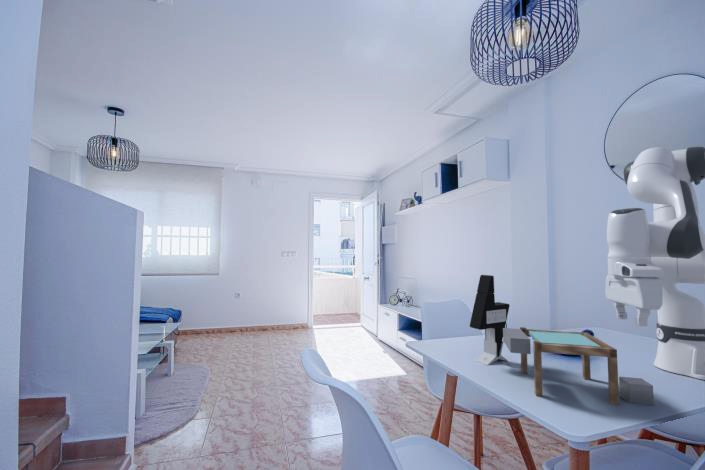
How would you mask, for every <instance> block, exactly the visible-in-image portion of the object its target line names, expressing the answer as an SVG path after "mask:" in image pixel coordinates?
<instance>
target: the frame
mask: <svg viewBox="0 0 705 470" xmlns="http://www.w3.org/2000/svg"><path fill="white" fill-rule="evenodd" d="M519 329H521V330H522V331H523V332H524V333H525V335H526V336H527V337H528V338H532V337H531V336H530V335H529V331H540V332H557V333H573V334H581V335H583V336H585V337H586V338H588V339H590V340H591V341H593V342H594V343H596V344H598V345H599V346H601V347H590V346H576V345H561V344H547V343H541V342H540V341H535V340H532V341H533V342H532V343H533V344H532V345H533V371H534V372H533V373H534V375H533V377H534V394H535V396H536V397H544V395H543V394H544V393H543V391H544V390H543V369H542V368H543V365H542V361H543V360H542V353H546V354H547V353H548V354H561V355H563V354H564V355H574V356H576V355H577V356H581V361H582V362H581V363H582V378H583V379H584V380H588V381H591V380H592V379H591V361H590V360H591V357H592V356H593V357H599V358H601V357H602V358H607V377H608V378H607V379H608V383H607V384H608V401H609V403H610V404H612V405H617V406H619V405H620V387H619V371H618V370H619V369H618V365H619V364H618V349H616V348H615V347H612V346H611V345H609V344H607V343H606V342H604V341H602V340H601V339H598V338H597V337H595V336H594V335H591V334H590V333H588V332H582V331H561V330H546V329H543V330H542V329H531V328H530V329H529V328H526V327H525V326H524V327H523V326H522V327H521V326H520V327H519ZM520 366H521V367H520V368H521V369H520V372H521V374H524V375H525V374H526V375H527V374H529V373H528V354H522V353H520Z"/></svg>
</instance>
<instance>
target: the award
mask: <svg viewBox="0 0 705 470" xmlns="http://www.w3.org/2000/svg"><path fill="white" fill-rule="evenodd" d="M478 280H479V281H478V285H477V291H476V295H475V299H474V304H473V307H472V314H471V317H470V322H469V327H470V328H473V329H475V330H480V331H481V330H484V335H485V336H484V337H485V339H483V352H482V353H481V354H480V355H478V357H477V358H476V359H475V360H474V361H475V362H477V363H480V364H483V365H486V366H489V365H491V364H493V363H494V362H496V361H497V360H501V361H506V362H507V361H508V359H507V358H506V357H504V356H503V355H502V352H503V346H504V341H503V328H506V325H507V324H506V323H507V320H508V314H509V310H510V304H509V303H505V302H500V301H499V302H496V301H495V276H494V275H491V274H490V275H488V274H480V276H479V279H478Z"/></svg>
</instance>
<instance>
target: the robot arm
mask: <svg viewBox="0 0 705 470" xmlns="http://www.w3.org/2000/svg"><path fill="white" fill-rule="evenodd" d="M702 180H705V147H704V146H690V147H687V148H684V149H675V150H670V149H668V148H665V147H660V146H657V147H650V148H647V149H645V150H643V151H641V152H640V153H639V154H638V155H637V156H636V158H635V160H633V161H631V162H629V163H627V164H626V166H625V167H624V168H623V181H624V183H625V184H626V187H627V191H628V193H629V194H630V196H632V198H634V199H636V200H637V201H640V202H643V203H645V204H650V205H651V204H653V205H652V212H653V213H652V215H653V216H652V217H653V221H648V215H647V212H646V209H644V208H640V207H631V208H630V207H629V208H620V209H615V210H612V211H611V212H609V213H608V217H607V223H606V244H607V247H608V253H607V259H606V260H607V275H606V278H605V289H604V290H605V293H604V294H605V297H606V299H607V300H608V301H612V302H613V306H614V309H615V311H616V318H617V319H618V320H627V319H628V312H626V308H625V306H630V307H635V308H636V312H637V316H636V317H635V324H636V325H637V326H639V327H647V326H648V319H649V316H650V314H651V310H653V311H656V312H657V322H656V338H657V348H656V349H657V350H656V355H655V357H654V358H655V359H654V362H653V365H654V367H656V368H658V369H661V370H664V371H666V372H670V373H673V374H674V373H675V374H677V375H681V376H682V375H683V376H687V377H692V378H694V379H699V380H703V381H705V305H704V302H702V301H701V300H700V299H698V298H697V297H694V296H693V295H690V294H688V293H685V292H682V291H680V290H679V289H678V288H677V287H676V284H692V285H693V284H695V285H696V284H698V285H705V231H704V230H703V228H702V226H701V223H700V213H699V204H698V197H697V194H696V190H695V189H694V185H695V186H698V185H700V184H701V181H702ZM692 183H694V185H693V184H692Z"/></svg>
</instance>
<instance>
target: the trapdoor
mask: <svg viewBox="0 0 705 470" xmlns="http://www.w3.org/2000/svg"><path fill="white" fill-rule="evenodd" d="M529 335H530V336H531V337H527V336H526V335H525V333H524V332H523V331H522V330H521V329H520V328H509V327H505V328H503V339H502V341H504V342H503V344H505V345H506V348H507V349H508V351H509V352H510V353H512V354H521V353H522V354H527V355H531V354H532V353H531V352H532V351H531V339H530V338H532V339H533V341H540V342H541V343H547V344H561V345H576V346H590V347H601V346H599V345H598V344H596V343H594V342H593V341H591V340H590V339H588V338H586V337H585V336H583V335H581V334H573V333H557V332H540V331H529Z"/></svg>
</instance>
